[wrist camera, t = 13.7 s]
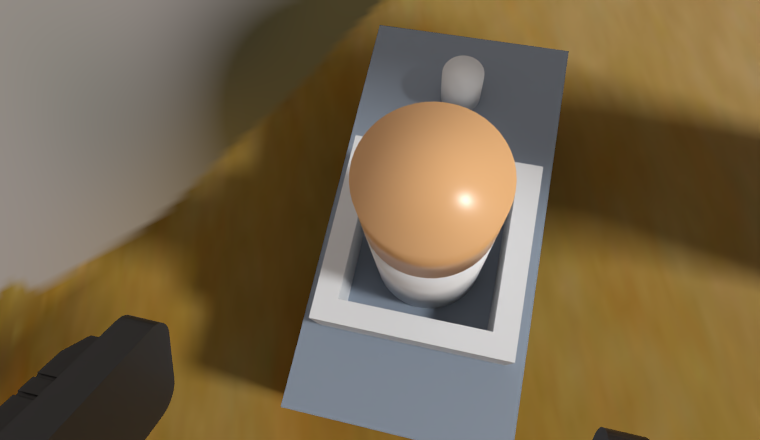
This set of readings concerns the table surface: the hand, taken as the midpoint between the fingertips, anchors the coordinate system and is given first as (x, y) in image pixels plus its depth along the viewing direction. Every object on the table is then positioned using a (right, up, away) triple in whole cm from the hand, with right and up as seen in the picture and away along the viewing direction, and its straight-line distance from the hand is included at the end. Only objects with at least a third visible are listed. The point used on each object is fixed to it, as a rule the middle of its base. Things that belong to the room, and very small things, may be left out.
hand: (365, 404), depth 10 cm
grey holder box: (+4, +2, +22) cm, 23 cm away
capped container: (+3, +2, +15) cm, 15 cm away
